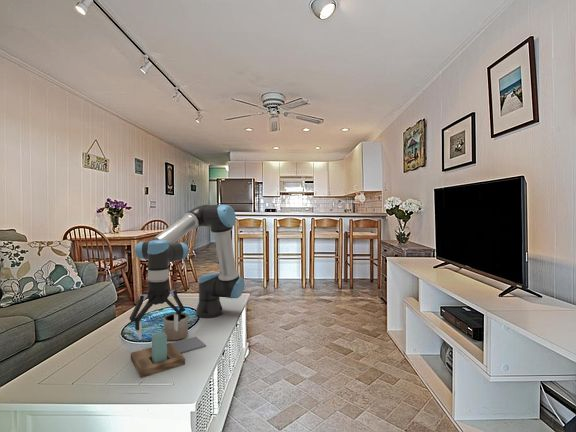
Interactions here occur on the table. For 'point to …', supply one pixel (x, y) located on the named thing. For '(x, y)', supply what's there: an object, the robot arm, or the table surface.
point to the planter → (182, 327)
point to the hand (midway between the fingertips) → (158, 334)
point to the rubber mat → (188, 344)
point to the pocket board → (146, 367)
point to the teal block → (159, 347)
